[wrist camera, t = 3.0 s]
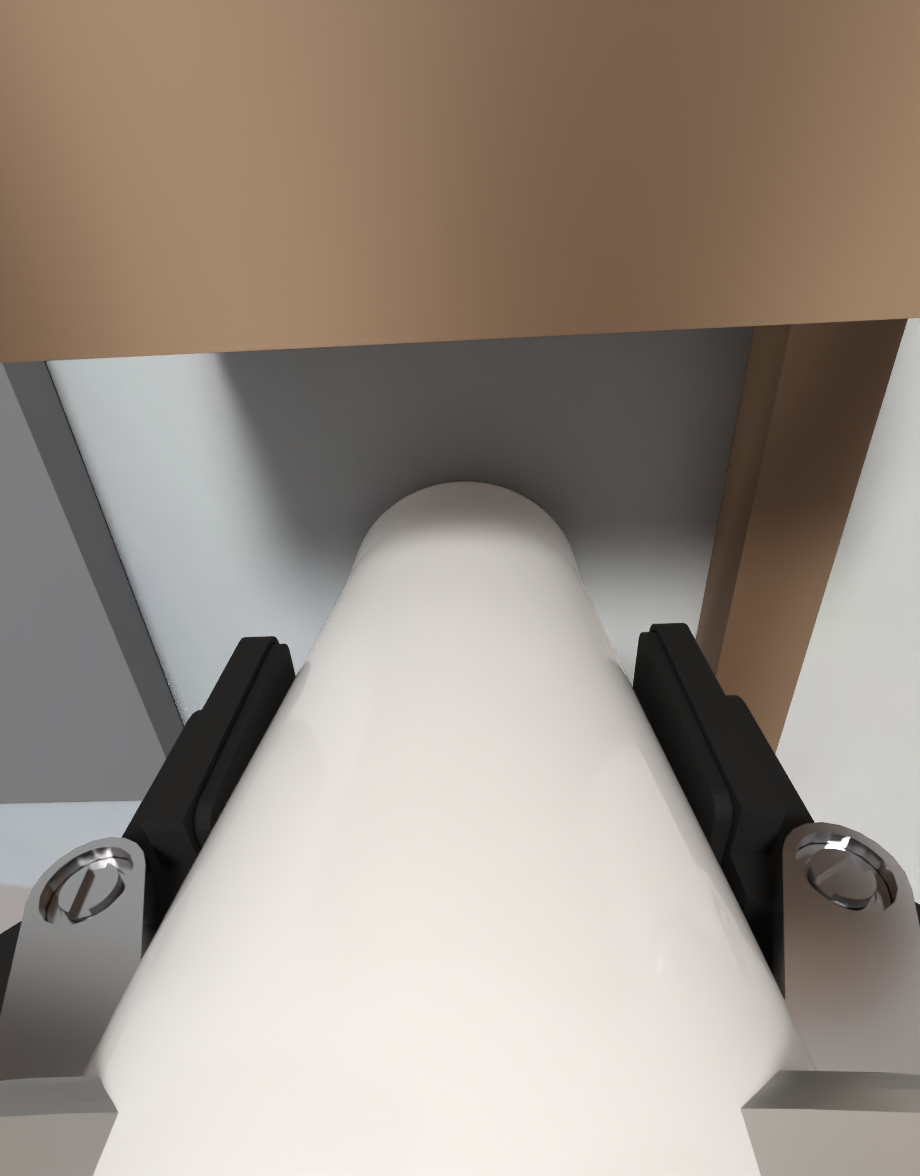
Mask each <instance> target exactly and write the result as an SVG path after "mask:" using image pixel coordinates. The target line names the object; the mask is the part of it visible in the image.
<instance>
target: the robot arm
mask: <svg viewBox="0 0 920 1176" xmlns="http://www.w3.org/2000/svg"><path fill="white" fill-rule="evenodd" d="M295 677H296V676H295V672H294V668H293V663H292V659H291V655H290V651H289V648H288V646H287V645H286V644H279V642H278V640H277V638H276V637H274V636H268V637H244V638H242V639H241V640H240V642H239V643H238V645H237V647H236V649H235V651H234V653H233V654H232V656H231V658H230V660H229V662H228V663H227V665H226V667H225V669H224V671H223V673H222V674H221V676H220V678H219V680H218V682H217V683H216V685H215V687H214V689H213V691H212V693H211V694H210V696H209V698H208V700H207V702H206V704H205V705H204V707H203V709H202V710H198V711H196V712H195V713H193V714H192V716H191V717H190V718H189V719H188V721H187V723H186V725H185V726H184V728H183V730H182V732H181V733H180V735H179V737H178V739H177V741H176V742H175V744H174V746H173V748H172V749H171V751H170V753H169V755H168V756H167V758H166V760H165V762H164V764H163V765H162V767H161V769H160V771H159V772H158V774H157V776H156V778H155V779H154V781H153V783H152V785H151V787H150V788H149V790H148V792H147V794H146V795H145V797H144V799H143V801H142V802H141V804H140V806H139V808H138V810H137V811H136V813H135V815H134V817H133V818H132V820H131V822H130V824H129V825H128V827H127V829H126V831H125V833H124V834H123V836H122V838H115V837H109V838H104V839H100V840H95V841H92V842H89V843H87V844H85V845H82V846H80V847H78V848H75V849H74V850H72V851H71V852H69V853H68V854H66V855H65V856H63V857H61V858H60V859H58V860H57V861H56V862H55V863H54V864H53V865H52V866H51V867H50V868H49V869H48V870H46V871H45V872H44V873H43V875H42V876H41V877H40V879H39V880H38V881H37V883H36V884H35V885H34V887H33V888H32V890H31V893H30V895H29V898H28V900H27V902H26V905H25V910H24V914H23V918H22V921H21V922H19V923H17V924H16V925H14V926H13V927H11V928H9V929H8V930H6V931H4V932H3V933H1V934H0V1176H93V1174H94V1172H95V1169H96V1167H97V1164H98V1162H99V1160H100V1157H101V1155H102V1152H103V1150H104V1147H105V1145H106V1142H107V1140H108V1137H109V1135H110V1132H111V1130H112V1128H113V1125H114V1123H115V1120H116V1118H117V1115H118V1113H119V1112H118V1111H117V1109H116V1107H115V1105H114V1103H113V1101H112V1100H111V1098H110V1097H109V1095H108V1093H107V1092H106V1090H105V1088H104V1086H103V1084H102V1081H101V1079H100V1078H99V1077H98V1076H82V1073H83V1071H84V1069H85V1067H86V1065H87V1063H88V1061H89V1060H90V1058H91V1056H92V1054H93V1052H94V1050H95V1048H96V1046H97V1044H98V1042H99V1040H100V1038H101V1036H102V1034H103V1032H104V1030H105V1028H106V1027H107V1025H108V1023H109V1021H110V1019H111V1017H112V1015H113V1013H114V1011H115V1009H116V1007H117V1005H118V1003H119V1001H120V999H121V997H122V995H123V993H124V992H125V990H126V988H127V986H128V984H129V982H130V980H131V978H132V976H133V974H134V972H135V971H136V969H137V967H138V965H139V963H140V961H141V959H142V958H143V956H144V954H145V952H146V950H147V948H148V946H149V945H150V943H151V941H152V939H153V937H154V935H155V933H156V931H157V930H158V928H159V926H160V924H161V922H162V920H163V918H164V917H165V915H166V913H167V911H168V909H169V907H170V905H171V904H172V902H173V900H174V898H175V896H176V894H177V892H178V891H179V889H180V887H181V885H182V883H183V881H184V880H185V878H186V876H187V874H188V872H189V871H190V869H191V867H192V865H193V863H194V861H195V860H196V858H197V856H198V854H199V852H200V851H201V849H202V847H203V845H204V843H205V841H206V840H207V838H208V836H209V834H210V832H211V830H212V829H213V827H214V825H215V823H216V821H217V820H218V818H219V816H220V814H221V812H222V810H223V809H224V807H225V805H226V803H227V801H228V800H229V798H230V796H231V794H232V792H233V790H234V789H235V787H236V785H237V783H238V781H239V780H240V778H241V776H242V774H243V772H244V770H245V769H246V767H247V765H248V763H249V761H250V760H251V758H252V756H253V754H254V752H255V750H256V749H257V747H258V745H259V743H260V741H261V740H262V738H263V736H264V734H265V732H266V730H267V729H268V727H269V725H270V723H271V721H272V719H273V718H274V716H275V714H276V712H277V710H278V708H279V707H280V705H281V703H282V701H283V699H284V697H285V696H286V694H287V692H288V690H289V688H290V686H291V685H292V683H293V681H294V679H295ZM633 690H634V692H635V694H636V696H637V698H638V700H639V702H640V704H641V706H642V708H643V710H644V712H645V714H646V716H647V718H648V720H649V722H650V724H651V726H652V729H653V731H654V733H655V735H656V737H657V739H658V741H659V743H660V745H661V747H662V749H663V751H664V753H665V755H666V757H667V759H668V761H669V763H670V765H671V767H672V769H673V771H674V773H675V775H676V777H677V779H678V781H679V783H680V785H681V788H682V790H683V792H684V794H685V796H686V798H687V800H688V802H689V804H690V806H691V808H692V810H693V812H694V814H695V816H696V818H697V820H698V822H699V824H700V826H701V828H702V830H703V832H704V834H705V836H706V838H707V840H708V842H709V844H710V846H711V848H712V850H713V853H714V855H715V857H716V859H717V861H718V863H719V865H720V867H721V869H722V871H723V873H724V875H725V877H726V879H727V881H728V883H729V885H730V887H731V889H732V891H733V893H734V895H735V897H736V899H737V901H738V903H739V905H740V907H741V909H742V911H743V914H744V916H745V918H746V920H747V922H748V924H749V926H750V928H751V930H752V932H753V934H754V936H755V938H756V940H757V943H758V945H759V947H760V949H761V951H762V953H763V955H764V957H765V959H766V961H767V963H768V965H769V968H770V970H771V972H772V974H773V976H774V978H775V980H776V982H777V984H778V986H779V988H780V990H781V992H782V995H783V997H784V999H785V1001H786V1003H787V1005H788V1007H789V1009H790V1012H791V1014H792V1016H793V1018H794V1020H795V1023H796V1025H797V1027H798V1029H799V1031H800V1033H801V1036H802V1038H803V1040H804V1042H805V1044H806V1046H807V1049H808V1051H809V1053H810V1055H811V1057H812V1059H813V1062H814V1064H815V1066H816V1068H817V1070H818V1071H792V1070H779V1071H778V1072H777V1073H776V1074H775V1075H774V1076H773V1077H772V1078H771V1079H770V1080H769V1081H768V1082H767V1083H766V1084H765V1085H764V1086H763V1087H762V1088H761V1089H760V1090H759V1091H758V1092H757V1093H756V1094H755V1095H754V1096H753V1097H751V1099H750V1100H749V1101H748V1102H747V1103H746V1104H745V1105H744V1106H743V1107H742V1108H741V1112H742V1115H743V1119H744V1122H745V1125H746V1128H747V1132H748V1135H749V1138H750V1142H751V1145H752V1148H753V1151H754V1155H755V1158H756V1161H757V1165H758V1168H759V1171H760V1174H761V1176H920V905H919V904H918V903H916V902H914V897H913V892H912V888H911V886H910V883H909V881H908V878H907V876H906V873H905V872H904V870H903V869H902V868H901V866H900V865H899V864H898V863H897V861H896V860H895V859H894V857H893V856H892V855H890V854H889V853H888V852H887V851H886V850H885V849H883V848H882V847H881V846H880V845H879V844H878V843H876V842H874V841H873V840H871V839H869V838H868V837H866V836H864V835H863V834H861V833H859V832H857V831H854V830H851V829H849V828H846V827H843V826H841V825H836V824H830V823H823V822H819V823H815V822H814V821H813V819H812V817H811V816H810V814H809V812H808V810H807V809H806V807H805V805H804V803H803V802H802V800H801V798H800V796H799V795H798V793H797V791H796V790H795V788H794V786H793V784H792V783H791V781H790V779H789V777H788V776H787V774H786V772H785V771H784V769H783V767H782V765H781V764H780V762H779V760H778V758H777V757H776V755H775V753H774V752H773V750H772V748H771V746H770V745H769V743H768V741H767V739H766V738H765V736H764V734H763V733H762V731H761V729H760V727H759V726H758V724H757V722H756V720H755V719H754V717H753V715H752V713H751V712H750V710H749V708H748V707H747V705H746V703H745V702H744V701H743V699H742V698H741V697H739V696H737V695H725V693H724V691H723V690H722V688H721V686H720V684H719V682H718V680H717V679H716V677H715V675H714V673H713V671H712V669H711V668H710V666H709V664H708V662H707V660H706V658H705V657H704V655H703V653H702V651H701V649H700V647H699V646H698V644H697V642H696V640H695V638H694V636H693V635H692V633H691V631H690V629H689V627H688V626H687V625H686V624H685V623H668V624H653V625H651V627H650V631H649V632H642V633H641V634H640V636H639V642H638V649H637V657H636V665H635V673H634V681H633Z"/></svg>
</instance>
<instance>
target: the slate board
mask: <svg viewBox="0 0 920 1176" xmlns="http://www.w3.org/2000/svg"><path fill="white" fill-rule="evenodd" d="M183 728H184V727H183V725H182V722H181V719H180V717H179V714H178V712H177V709H176V706H175V704H174V701H173V698H172V696H171V693H170V690H169V688H168V685H167V683H166V680H165V677H164V675H163V672H162V669H161V667H160V664H159V662H158V659H157V656H156V654H155V651H154V648H153V646H152V643H151V641H150V638H149V635H148V633H147V630H146V627H145V625H144V622H143V619H142V617H141V614H140V612H139V609H138V606H137V604H136V601H135V598H134V596H133V593H132V591H131V588H130V585H129V583H128V580H127V577H126V575H125V572H124V570H123V567H122V564H121V562H120V559H119V556H118V554H117V551H116V548H115V546H114V543H113V541H112V538H111V535H110V533H109V530H108V527H107V525H106V522H105V520H104V517H103V514H102V512H101V509H100V506H99V504H98V501H97V499H96V496H95V493H94V491H93V488H92V485H91V483H90V480H89V477H88V475H87V472H86V470H85V467H84V464H83V462H82V459H81V456H80V454H79V451H78V449H77V446H76V443H75V441H74V438H73V435H72V433H71V430H70V428H69V425H68V422H67V420H66V417H65V414H64V412H63V409H62V406H61V404H60V401H59V399H58V396H57V393H56V391H55V388H54V385H53V383H52V380H51V378H50V375H49V372H48V370H47V367H46V364H45V362H44V361H31V362H11V363H0V804H8V803H50V802H93V801H136V800H143V799H144V797H145V795H146V794H147V792H148V790H149V788H150V787H151V785H152V783H153V781H154V779H155V778H156V776H157V774H158V772H159V771H160V769H161V767H162V765H163V764H164V762H165V760H166V758H167V756H168V755H169V753H170V751H171V749H172V748H173V746H174V744H175V742H176V741H177V739H178V737H179V735H180V733H181V732H182V730H183Z"/></svg>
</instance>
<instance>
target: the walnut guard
mask: <svg viewBox="0 0 920 1176" xmlns="http://www.w3.org/2000/svg"><path fill="white" fill-rule="evenodd" d="M908 318H920V0H0V363H11V362H31V361H51V360H72V359H92V358H112V357H133V356H153V355H173V354H194V353H214V352H235V351H255V350H275V349H296V348H316V347H336V346H357V345H377V344H397V343H418V342H438V341H458V340H479V339H499V338H519V337H540V336H560V335H581V334H601V333H621V332H642V331H662V330H682V329H703V328H723V327H743V326H754V331H753V337H752V342H751V347H750V353H749V358H748V364H747V369H746V374H745V380H744V385H743V390H742V396H741V401H740V406H739V412H738V417H737V423H736V428H735V433H734V439H733V444H732V449H731V455H730V460H729V465H728V471H727V476H726V482H725V487H724V492H723V498H722V503H721V508H720V514H719V519H718V524H717V530H716V535H715V541H714V546H713V551H712V557H711V562H710V567H709V573H708V578H707V583H706V589H705V594H704V600H703V605H702V610H701V616H700V621H699V626H698V632H697V637H696V642H697V644H698V646H699V647H700V649H701V651H702V653H703V655H704V657H705V658H706V660H707V662H708V664H709V666H710V668H711V669H712V671H713V673H714V675H715V677H716V679H717V680H718V682H719V684H720V686H721V688H722V690H723V691H724V693H725V695H737V696H739V697H741V698H742V699H743V701H744V702H745V703H746V705H747V707H748V708H749V710H750V712H751V713H752V715H753V717H754V719H755V720H756V722H757V724H758V726H759V727H760V729H761V731H762V733H763V734H764V736H765V738H766V739H767V741H768V743H769V745H770V746H771V748H772V750H773V752H774V753H776V749H777V746H778V743H779V740H780V736H781V733H782V730H783V726H784V723H785V720H786V717H787V713H788V710H789V707H790V703H791V700H792V697H793V694H794V690H795V687H796V684H797V681H798V677H799V674H800V671H801V667H802V664H803V661H804V658H805V654H806V651H807V648H808V644H809V641H810V638H811V635H812V631H813V628H814V625H815V621H816V618H817V615H818V612H819V608H820V605H821V602H822V598H823V595H824V592H825V589H826V585H827V582H828V579H829V575H830V572H831V569H832V566H833V562H834V559H835V556H836V553H837V549H838V546H839V543H840V539H841V536H842V533H843V530H844V526H845V523H846V520H847V516H848V513H849V510H850V507H851V503H852V500H853V497H854V493H855V490H856V487H857V484H858V480H859V477H860V474H861V470H862V467H863V464H864V461H865V457H866V454H867V451H868V448H869V444H870V441H871V438H872V434H873V431H874V428H875V425H876V421H877V418H878V415H879V411H880V408H881V405H882V402H883V398H884V395H885V392H886V388H887V385H888V382H889V379H890V375H891V372H892V369H893V365H894V362H895V359H896V356H897V352H898V349H899V346H900V342H901V339H902V336H903V333H904V329H905V326H906V323H907V320H908Z"/></svg>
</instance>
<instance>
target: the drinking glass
mask: <svg viewBox="0 0 920 1176" xmlns="http://www.w3.org/2000/svg"><path fill="white" fill-rule="evenodd" d="M779 1070H792V1071H818V1070H817V1068H816V1066H815V1064H814V1062H813V1059H812V1057H811V1055H810V1053H809V1051H808V1049H807V1046H806V1044H805V1042H804V1040H803V1038H802V1036H801V1033H800V1031H799V1029H798V1027H797V1025H796V1023H795V1020H794V1018H793V1016H792V1014H791V1012H790V1009H789V1007H788V1005H787V1003H786V1001H785V999H784V997H783V995H782V992H781V990H780V988H779V986H778V984H777V982H776V980H775V978H774V976H773V974H772V972H771V970H770V968H769V965H768V963H767V961H766V959H765V957H764V955H763V953H762V951H761V949H760V947H759V945H758V943H757V940H756V938H755V936H754V934H753V932H752V930H751V928H750V926H749V924H748V922H747V920H746V918H745V916H744V914H743V911H742V909H741V907H740V905H739V903H738V901H737V899H736V897H735V895H734V893H733V891H732V889H731V887H730V885H729V883H728V881H727V879H726V877H725V875H724V873H723V871H722V869H721V867H720V865H719V863H718V861H717V859H716V857H715V855H714V853H713V850H712V848H711V846H710V844H709V842H708V840H707V838H706V836H705V834H704V832H703V830H702V828H701V826H700V824H699V822H698V820H697V818H696V816H695V814H694V812H693V810H692V808H691V806H690V804H689V802H688V800H687V798H686V796H685V794H684V792H683V790H682V788H681V785H680V783H679V781H678V779H677V777H676V775H675V773H674V771H673V769H672V767H671V765H670V763H669V761H668V759H667V757H666V755H665V753H664V751H663V749H662V747H661V745H660V743H659V741H658V739H657V737H656V735H655V733H654V731H653V729H652V726H651V724H650V722H649V720H648V718H647V716H646V714H645V712H644V710H643V708H642V706H641V704H640V702H639V700H638V698H637V696H636V694H635V692H634V690H633V687H632V685H631V683H630V681H629V679H628V677H627V675H626V673H625V671H624V669H623V667H622V665H621V663H620V661H619V659H618V656H617V654H616V652H615V650H614V648H613V646H612V644H611V642H610V640H609V638H608V636H607V634H606V631H605V629H604V627H603V625H602V623H601V621H600V619H599V617H598V615H597V612H596V610H595V608H594V606H593V604H592V602H591V600H590V597H589V595H588V593H587V591H586V589H585V587H584V584H583V581H582V578H581V574H580V571H579V568H578V565H577V562H576V559H575V556H574V553H573V551H572V548H571V546H570V544H569V542H568V540H567V538H566V536H565V535H564V533H563V532H562V530H561V529H560V527H559V526H558V525H557V524H556V522H555V521H554V520H553V519H552V518H551V517H550V516H549V515H548V514H547V513H546V512H545V511H544V510H543V509H542V508H540V507H539V506H538V505H537V504H535V503H534V502H532V501H531V500H529V499H528V498H526V497H524V496H522V495H520V494H518V493H516V492H514V491H511V490H509V489H506V488H503V487H500V486H496V485H492V484H487V483H481V482H449V483H443V484H438V485H434V486H430V487H427V488H424V489H421V490H419V491H416V492H414V493H412V494H410V495H408V496H406V497H404V498H403V499H401V500H400V501H398V502H397V503H395V504H394V505H392V506H391V507H390V508H389V509H388V510H386V511H385V512H384V513H383V514H382V515H381V516H380V517H379V518H378V519H377V521H376V522H375V523H374V524H373V525H372V527H371V528H370V530H369V531H368V533H367V534H366V536H365V537H364V539H363V541H362V543H361V545H360V547H359V550H358V552H357V555H356V558H355V560H354V563H353V566H352V569H351V572H350V574H349V577H348V580H347V582H346V584H345V586H344V587H343V589H342V591H341V593H340V595H339V597H338V599H337V601H336V603H335V605H334V607H333V608H332V610H331V612H330V614H329V616H328V618H327V620H326V622H325V623H324V625H323V627H322V629H321V631H320V633H319V635H318V636H317V638H316V640H315V642H314V644H313V646H312V648H311V649H310V651H309V653H308V655H307V657H306V659H305V661H304V663H303V664H302V666H301V668H300V670H299V672H298V674H297V675H296V677H295V679H294V681H293V683H292V685H291V686H290V688H289V690H288V692H287V694H286V696H285V697H284V699H283V701H282V703H281V705H280V707H279V708H278V710H277V712H276V714H275V716H274V718H273V719H272V721H271V723H270V725H269V727H268V729H267V730H266V732H265V734H264V736H263V738H262V740H261V741H260V743H259V745H258V747H257V749H256V750H255V752H254V754H253V756H252V758H251V760H250V761H249V763H248V765H247V767H246V769H245V770H244V772H243V774H242V776H241V778H240V780H239V781H238V783H237V785H236V787H235V789H234V790H233V792H232V794H231V796H230V798H229V800H228V801H227V803H226V805H225V807H224V809H223V810H222V812H221V814H220V816H219V818H218V820H217V821H216V823H215V825H214V827H213V829H212V830H211V832H210V834H209V836H208V838H207V840H206V841H205V843H204V845H203V847H202V849H201V851H200V852H199V854H198V856H197V858H196V860H195V861H194V863H193V865H192V867H191V869H190V871H189V872H188V874H187V876H186V878H185V880H184V881H183V883H182V885H181V887H180V889H179V891H178V892H177V894H176V896H175V898H174V900H173V902H172V904H171V905H170V907H169V909H168V911H167V913H166V915H165V917H164V918H163V920H162V922H161V924H160V926H159V928H158V930H157V931H156V933H155V935H154V937H153V939H152V941H151V943H150V945H149V946H148V948H147V950H146V952H145V954H144V956H143V958H142V959H141V961H140V963H139V965H138V967H137V969H136V971H135V972H134V974H133V976H132V978H131V980H130V982H129V984H128V986H127V988H126V990H125V992H124V993H123V995H122V997H121V999H120V1001H119V1003H118V1005H117V1007H116V1009H115V1011H114V1013H113V1015H112V1017H111V1019H110V1021H109V1023H108V1025H107V1027H106V1028H105V1030H104V1032H103V1034H102V1036H101V1038H100V1040H99V1042H98V1044H97V1046H96V1048H95V1050H94V1052H93V1054H92V1056H91V1058H90V1060H89V1061H88V1063H87V1065H86V1067H85V1069H84V1071H83V1073H82V1076H98V1077H99V1078H100V1079H101V1081H102V1084H103V1086H104V1088H105V1090H106V1092H107V1093H108V1095H109V1097H110V1098H111V1100H112V1101H113V1103H114V1105H115V1107H116V1109H117V1111H118V1112H119V1113H118V1115H117V1118H116V1120H115V1123H114V1125H113V1128H112V1130H111V1132H110V1135H109V1137H108V1140H107V1142H106V1145H105V1147H104V1150H103V1152H102V1155H101V1157H100V1160H99V1162H98V1164H97V1167H96V1169H95V1172H94V1174H93V1176H761V1174H760V1171H759V1168H758V1165H757V1161H756V1158H755V1155H754V1151H753V1148H752V1145H751V1142H750V1138H749V1135H748V1132H747V1128H746V1125H745V1122H744V1119H743V1115H742V1112H741V1108H742V1107H743V1106H744V1105H745V1104H746V1103H747V1102H748V1101H749V1100H750V1099H751V1097H753V1096H754V1095H755V1094H756V1093H757V1092H758V1091H759V1090H760V1089H761V1088H762V1087H763V1086H764V1085H765V1084H766V1083H767V1082H768V1081H769V1080H770V1079H771V1078H772V1077H773V1076H774V1075H775V1074H776V1073H777V1072H778V1071H779Z"/></svg>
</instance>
